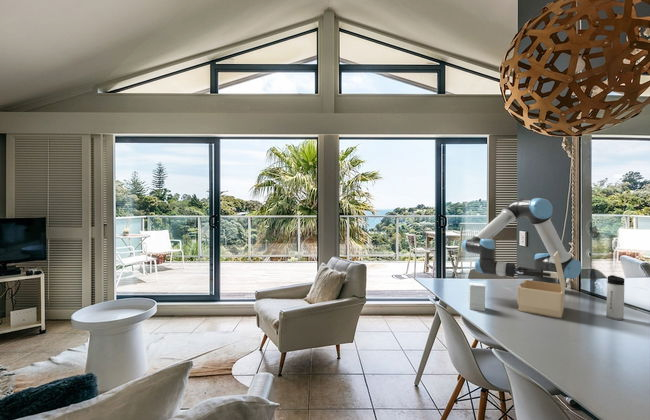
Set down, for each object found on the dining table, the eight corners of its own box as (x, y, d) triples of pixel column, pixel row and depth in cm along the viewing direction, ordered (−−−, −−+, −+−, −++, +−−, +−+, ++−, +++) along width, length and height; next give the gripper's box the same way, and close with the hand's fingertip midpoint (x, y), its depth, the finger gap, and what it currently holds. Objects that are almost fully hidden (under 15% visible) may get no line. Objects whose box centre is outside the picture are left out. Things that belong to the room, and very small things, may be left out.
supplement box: (485, 311, 172) (485, 286, 172) (469, 309, 175) (469, 285, 174) (483, 307, 179) (484, 283, 179) (468, 305, 182) (468, 281, 181)
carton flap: (556, 251, 181) (557, 251, 181) (564, 285, 179) (566, 285, 179) (553, 256, 165) (554, 255, 164) (562, 293, 163) (563, 293, 162)
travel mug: (618, 316, 166) (619, 275, 166) (626, 321, 160) (627, 278, 159) (603, 315, 168) (604, 274, 167) (610, 319, 161) (611, 277, 161)
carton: (523, 300, 192) (524, 279, 191) (564, 307, 180) (564, 284, 180) (516, 310, 173) (517, 287, 173) (561, 318, 162) (562, 293, 162)
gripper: (508, 274, 191) (559, 280, 176) (503, 278, 180) (557, 285, 166) (508, 260, 190) (559, 266, 176) (503, 264, 180) (557, 270, 166)
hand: (558, 275), depth 171 cm, fingers closed
